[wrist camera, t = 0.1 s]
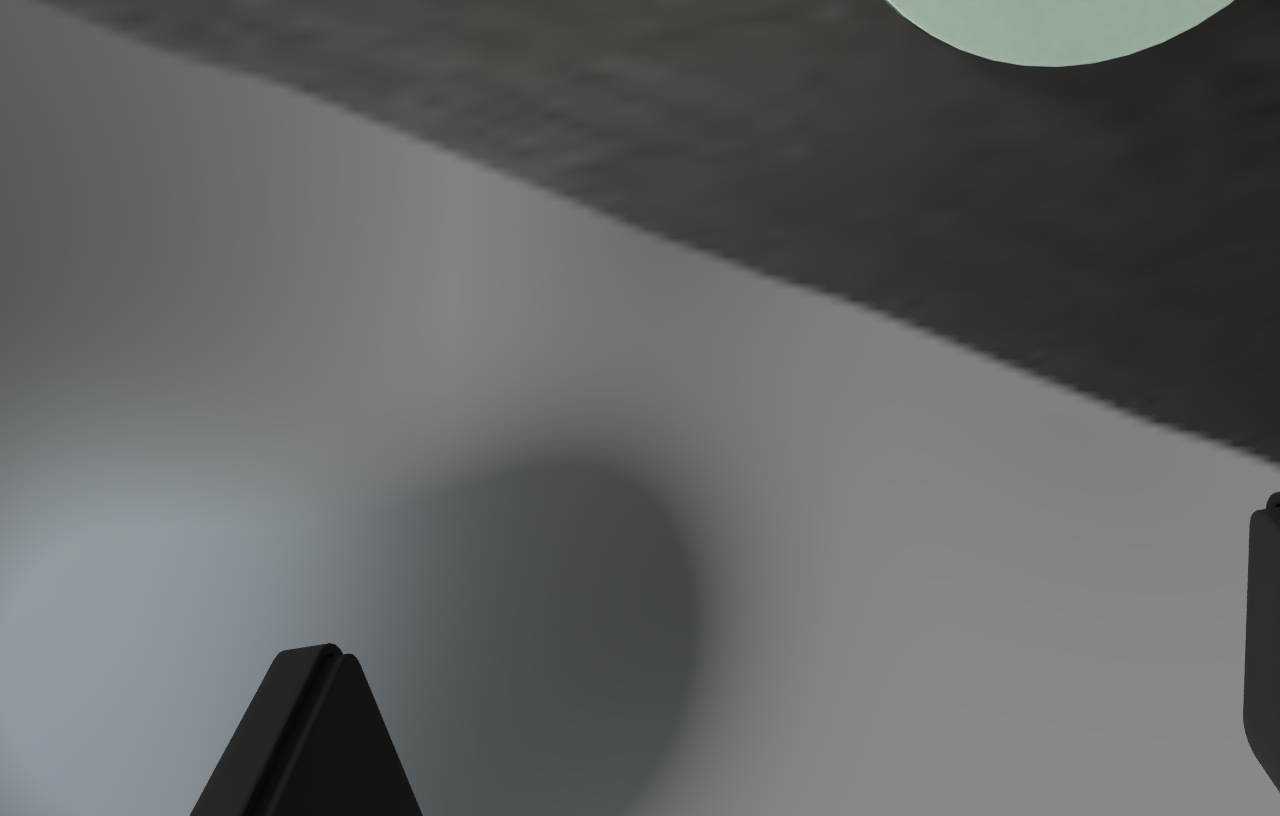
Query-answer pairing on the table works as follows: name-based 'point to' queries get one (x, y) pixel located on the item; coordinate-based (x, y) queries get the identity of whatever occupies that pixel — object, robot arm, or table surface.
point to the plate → (1055, 26)
